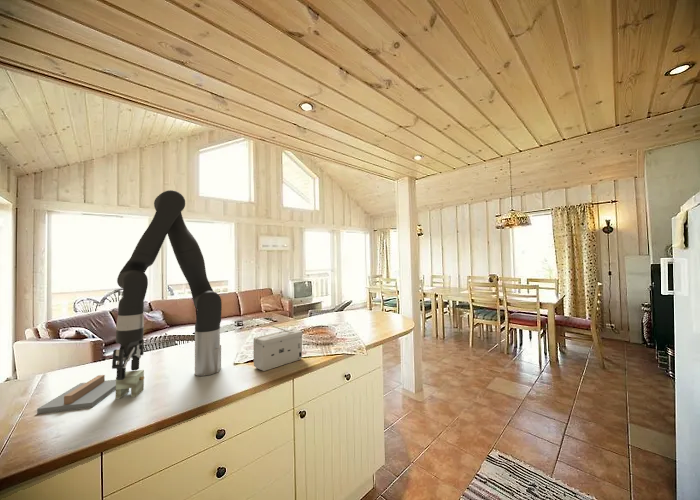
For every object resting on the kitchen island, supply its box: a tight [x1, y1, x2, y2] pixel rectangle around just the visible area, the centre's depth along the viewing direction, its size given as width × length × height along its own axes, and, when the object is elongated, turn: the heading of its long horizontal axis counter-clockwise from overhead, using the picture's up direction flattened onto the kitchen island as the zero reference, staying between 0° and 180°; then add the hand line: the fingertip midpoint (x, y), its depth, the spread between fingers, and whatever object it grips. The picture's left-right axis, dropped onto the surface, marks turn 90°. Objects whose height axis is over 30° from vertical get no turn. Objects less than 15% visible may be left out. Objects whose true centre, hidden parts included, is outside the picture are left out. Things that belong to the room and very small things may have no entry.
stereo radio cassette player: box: [253, 322, 303, 372], centre depth 121 cm, size 21×8×20 cm, turn 135°
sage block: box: [115, 369, 145, 400], centre depth 95 cm, size 7×5×7 cm
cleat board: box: [36, 374, 116, 415], centre depth 93 cm, size 14×18×4 cm
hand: (128, 374), depth 95 cm, fingers open, 8 cm apart
